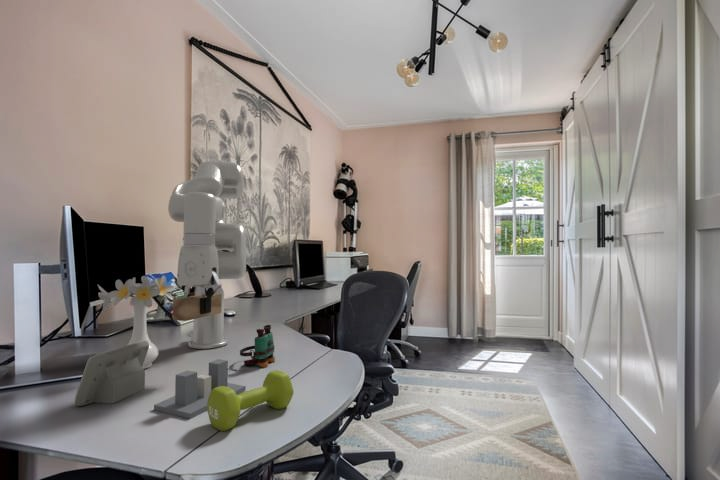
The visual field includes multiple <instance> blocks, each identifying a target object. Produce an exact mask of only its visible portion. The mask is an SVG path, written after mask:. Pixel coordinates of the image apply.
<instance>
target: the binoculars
mask: <svg viewBox="0 0 720 480" xmlns="http://www.w3.org/2000/svg"><path fill="white" fill-rule="evenodd" d="M271 329H272V325H271V324H266V325H264V326H263V328H257V329H256V334H257V336H256V337H254V345H251V346H245V347H243V348H242V349H240V350H239V355H240V356H241V357H250V358H251V359H246V360H244V361H243V363H244V366H250V365H257V366H258V367H260V368H266V367H268V366H269V363H274V362H275V361H276V359H275V357H276V356H274V353H275V344H274V342H275V341H274V336H273V334H274V333H273V332H272V331H271ZM249 351H250V352H249Z"/></svg>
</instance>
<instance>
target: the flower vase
mask: <svg viewBox="0 0 720 480" xmlns="http://www.w3.org/2000/svg"><path fill="white" fill-rule="evenodd" d="M140 279H141V280H140V281H141V283H138V282H137V283H136V277H133V278H130V279H126V281H125V283H123V281H122V280H121V279H117V280H115V282H114V283H115V288H116V289H117V290H112V291H110V292H107V290H105V289H104V288H103V287H102V286H100V285H99V284H97V287H98V290H100V292H98V293H97V294H98V298H99V299H100V300H102V301H103V302H102V311H103V312H105V311H106V310H108V305H109V304H110V302H111V300H112V299H114V301H113V303H112V305H113V306H118V304H119V303H120V302H121V301H122V300H124V299H125V300H128V299H129V298H130V297H131V298H130V300H129V305H130V306H133V327H132V328H133V329H132V335H131V338H130V340H129V341H128V343H127V345H129V344H132V343H135V342H139V341H147V342H148V343H149V348H148V352H147V354H146V357H145V360H144V363H143V366H142V368H143V369H144V370H146V369H148V368H150V367H152V365H153V362H154V361H156V359H157V358H158V356H159V353H160V352H159V350H158V346H156V345H155V344H154V343H153V342H152V341H151V340H150V338H149V337H150V336H149V335H148V329H147V312H148V311H147V309H148V308H151V307H153V300H152V298H153V297H156V296H159V295H160V296H162V297H163V296H165V297H166V298H168V299H169V300H171V301H173V299H174V297H173V295H172V294H171V293H170V292H174V291H175V289H176V288H175V286H174V285H172V284H171V285H170V284H167V278H166V276H165V275H162V276H161V277H156V278H154V279H153V280H151V281H150V279H149V278H148V277H147V276H146V275H142V276H141V278H140Z"/></svg>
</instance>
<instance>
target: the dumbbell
mask: <svg viewBox="0 0 720 480" xmlns="http://www.w3.org/2000/svg"><path fill="white" fill-rule="evenodd" d="M293 396H294V387H293V384H292V381H291V378H290V375H289V374H288V373H287V372H285V371H282V370H279V369H275V370H272V371H270V372H268V373H267V374H266V376H265V378H264V380H263V383H262V386H261V387H260V386H259V387H257V388H253V389H249V390H246V391H244V392H242V393H240V394H238V395H236V393H235V391H234V390H232V389H231V388H229V387H226V386H220V387H216V388H214V389H213V390H212V391H211V393H210V395H209V398H208V401H207V414H208V419H209V422H210V425H211V426H212V427H214V428H215V429H217V430H219V431H220V432H225V431H228V430H230V429H231V430H232V428H234V427H235V426H236V424H237V422H238V420H239V417H240V414H241V411H244V410H246V409H247V410H248V409H249V408H252V407H256V406H258V405H261V404H264V403H265V402H266V404H267V405H268V406H270V407H271V408H273V409H277V410H282V409H285V408H287V407H288V405H290V403H291V401H292V399H293Z"/></svg>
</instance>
